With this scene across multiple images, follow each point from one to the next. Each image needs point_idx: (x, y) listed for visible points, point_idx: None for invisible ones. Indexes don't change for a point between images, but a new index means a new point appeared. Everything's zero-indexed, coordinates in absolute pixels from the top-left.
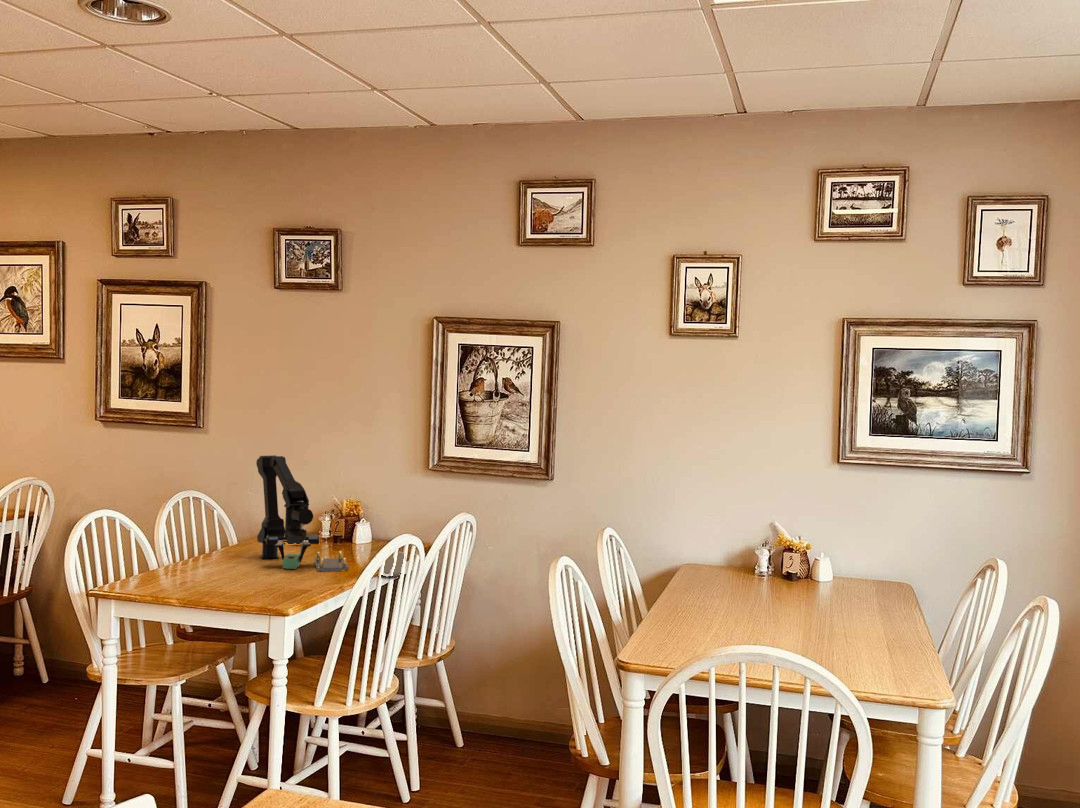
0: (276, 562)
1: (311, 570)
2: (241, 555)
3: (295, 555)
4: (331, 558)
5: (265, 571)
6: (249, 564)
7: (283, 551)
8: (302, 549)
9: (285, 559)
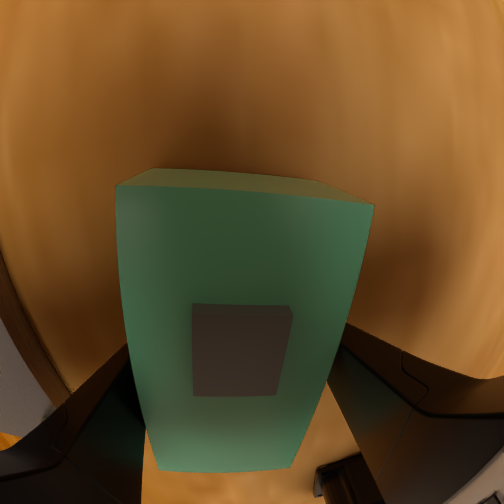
0: (340, 418)
1: (14, 151)
2: None
3: (199, 435)
4: (9, 432)
5: (444, 101)
6: (477, 336)
7: (400, 388)
8: (51, 454)
9: (330, 199)
